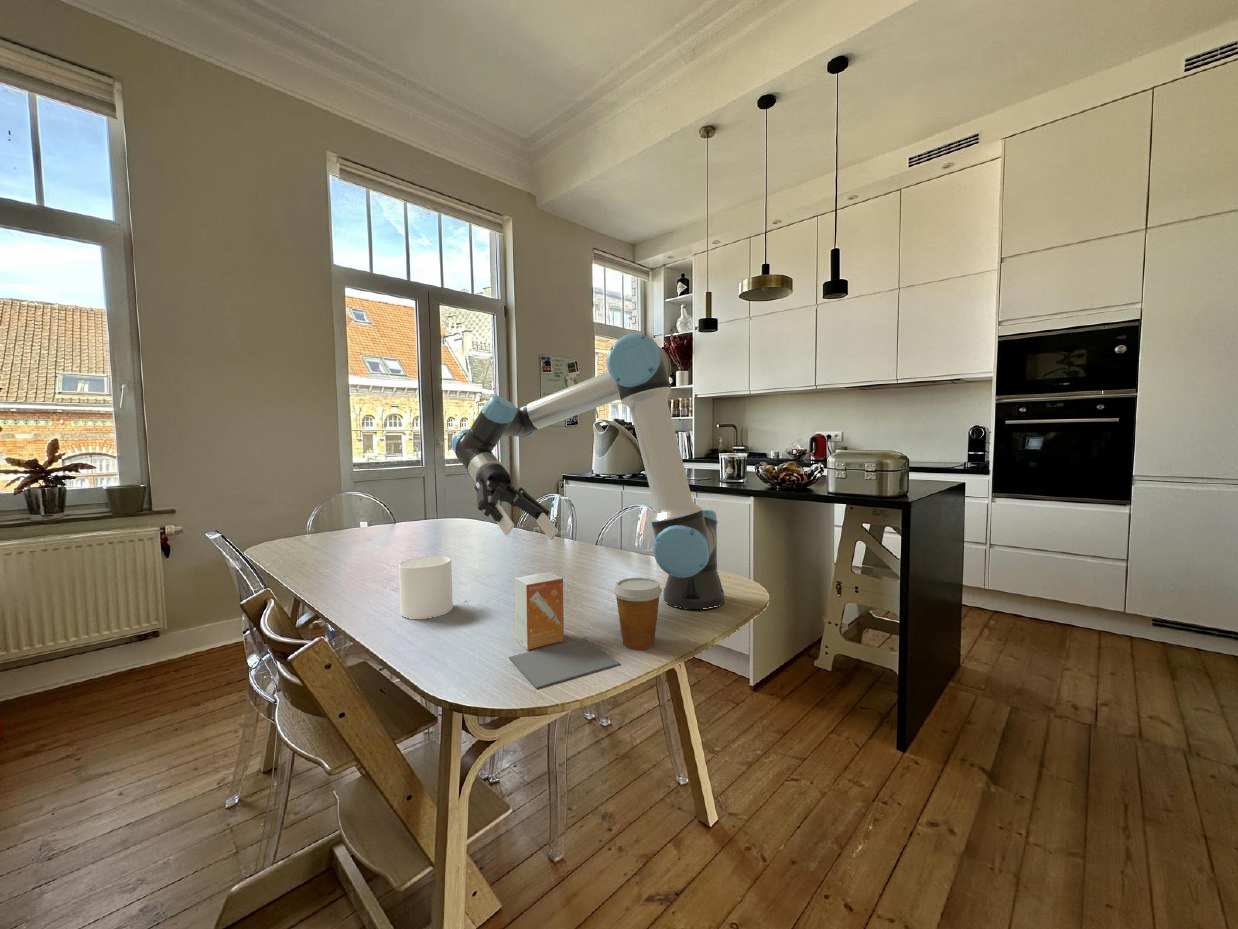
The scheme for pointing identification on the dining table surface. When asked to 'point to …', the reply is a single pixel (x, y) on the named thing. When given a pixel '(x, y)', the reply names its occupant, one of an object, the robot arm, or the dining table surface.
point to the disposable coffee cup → (638, 611)
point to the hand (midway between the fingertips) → (533, 533)
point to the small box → (539, 610)
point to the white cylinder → (425, 587)
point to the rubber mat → (562, 662)
